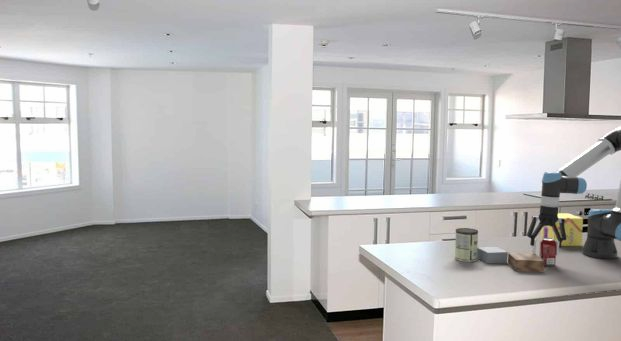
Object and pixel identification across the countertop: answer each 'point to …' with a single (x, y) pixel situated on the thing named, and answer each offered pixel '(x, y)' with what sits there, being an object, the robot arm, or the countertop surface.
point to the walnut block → (526, 262)
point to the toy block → (566, 230)
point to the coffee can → (466, 244)
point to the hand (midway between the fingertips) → (544, 253)
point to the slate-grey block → (492, 254)
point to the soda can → (548, 251)
